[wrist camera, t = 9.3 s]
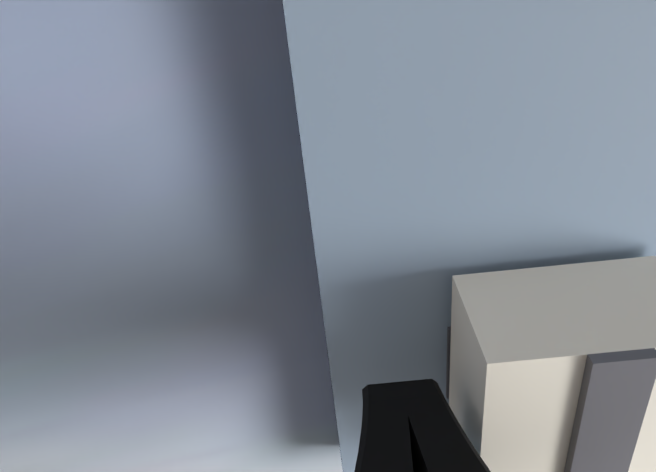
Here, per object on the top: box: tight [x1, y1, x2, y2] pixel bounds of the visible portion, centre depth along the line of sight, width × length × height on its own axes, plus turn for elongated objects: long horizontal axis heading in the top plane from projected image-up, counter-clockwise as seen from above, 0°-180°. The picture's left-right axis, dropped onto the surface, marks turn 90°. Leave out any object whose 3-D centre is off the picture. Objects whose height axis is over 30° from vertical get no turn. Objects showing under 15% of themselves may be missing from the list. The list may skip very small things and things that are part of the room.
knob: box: [449, 256, 656, 472], centre depth 10 cm, size 4×5×2 cm
